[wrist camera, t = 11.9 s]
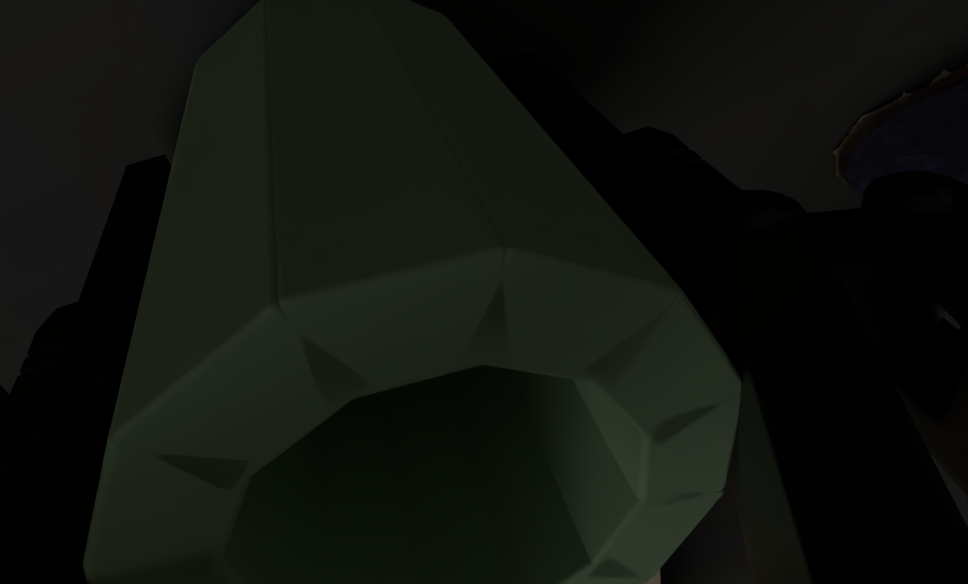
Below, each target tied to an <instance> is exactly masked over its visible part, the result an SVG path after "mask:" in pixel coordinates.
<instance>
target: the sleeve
mask: <svg viewBox="0 0 968 584" xmlns="http://www.w3.org/2000/svg"><path fill="white" fill-rule="evenodd" d="M740 392H741V375H740V373H739V372H738V371H737V369H736V368H735V366H734V365H733V363H732V362H731V360H730V359H729V357H728V356H727V354H726V353H725V352H724V350H723V349H722V347H721V346H720V344H719V343H718V341H717V340H716V338H715V337H714V335H713V334H712V333H711V331H710V330H709V328H708V327H707V325H706V324H705V322H704V321H703V319H702V318H701V316H700V315H699V314H698V312H697V311H696V309H695V308H694V306H693V305H692V303H691V302H690V300H689V299H688V297H687V296H686V295H685V293H684V292H683V290H682V289H681V288H680V287H679V286H678V285H677V283H676V282H675V281H674V280H673V279H672V278H671V277H670V275H669V274H668V273H667V272H666V271H665V270H664V268H663V267H662V266H661V265H660V264H659V263H658V261H657V260H656V259H655V258H654V257H653V256H652V255H651V253H650V252H649V251H648V250H647V249H646V248H645V246H644V245H643V244H642V243H641V242H640V241H639V239H638V238H637V237H636V236H635V235H634V234H633V233H632V231H631V230H630V229H629V228H628V227H627V226H626V224H625V223H624V222H623V221H622V220H621V219H620V217H619V216H618V215H617V214H616V213H615V212H614V211H613V209H612V208H611V207H610V206H609V205H608V204H607V202H606V201H605V200H604V199H603V198H602V197H601V195H600V194H599V193H598V192H597V191H596V190H595V189H594V187H593V186H592V185H591V184H590V183H589V182H588V180H587V179H586V178H585V177H584V176H583V175H582V173H581V172H580V171H579V170H578V169H577V168H576V167H575V165H574V164H573V163H572V162H571V161H570V160H569V158H568V157H567V156H566V155H565V154H564V153H563V151H562V150H561V149H560V148H559V147H558V146H557V145H556V143H555V142H554V141H553V140H552V139H551V138H550V136H549V135H548V134H547V133H546V132H545V131H544V129H543V128H542V127H541V126H540V125H539V124H538V123H537V121H536V120H535V119H534V118H533V117H532V116H531V114H530V113H529V112H528V111H527V110H526V109H525V107H524V106H523V105H522V104H521V103H520V102H519V100H518V99H517V98H516V97H515V96H514V95H513V94H512V92H511V91H510V90H509V89H508V88H507V87H506V85H505V84H504V83H503V82H502V81H501V80H500V78H499V77H498V76H497V75H496V74H495V73H494V72H493V70H492V69H491V68H490V67H489V66H488V65H487V63H486V62H485V61H484V60H483V59H482V58H481V56H480V55H479V54H478V53H477V52H476V51H475V50H474V48H473V47H472V46H471V45H470V44H469V43H468V41H467V40H466V39H465V38H464V37H463V36H462V34H461V33H460V32H459V31H458V30H457V29H456V28H455V26H454V25H453V24H452V23H451V22H450V21H449V19H448V18H447V17H446V16H444V15H443V14H441V13H439V12H436V11H434V10H431V9H429V8H426V7H424V6H422V5H419V4H417V3H414V2H412V1H409V0H260V1H259V2H258V3H257V4H256V5H255V6H254V7H253V8H252V9H250V10H249V11H248V12H247V13H246V14H245V15H244V16H243V17H242V18H241V19H240V20H239V21H238V22H236V23H235V24H234V25H233V26H232V27H231V28H230V29H229V30H228V31H227V32H226V33H225V34H224V35H223V36H221V37H220V38H219V39H218V40H217V41H216V42H215V43H214V44H213V45H212V46H211V47H210V48H209V49H207V50H206V51H205V52H204V53H203V54H202V55H201V56H200V57H199V58H198V62H197V63H196V65H195V69H194V73H193V77H192V81H191V86H190V90H189V94H188V98H187V103H186V107H185V111H184V115H183V120H182V124H181V128H180V133H179V137H178V141H177V145H176V150H175V154H174V158H173V162H172V167H171V171H170V175H169V179H168V184H167V188H166V192H165V196H164V201H163V205H162V209H161V214H160V218H159V222H158V226H157V231H156V235H155V239H154V243H153V248H152V252H151V256H150V260H149V265H148V269H147V273H146V278H145V282H144V286H143V290H142V295H141V299H140V303H139V307H138V312H137V316H136V320H135V324H134V329H133V333H132V337H131V342H130V346H129V350H128V354H127V359H126V363H125V367H124V371H123V376H122V380H121V384H120V388H119V393H118V397H117V401H116V406H115V410H114V414H113V418H112V423H111V427H110V431H109V435H108V440H107V445H106V450H105V455H104V460H103V465H102V470H101V475H100V480H99V485H98V490H97V495H96V500H95V505H94V510H93V515H92V520H91V525H90V530H89V535H88V540H87V545H86V550H85V555H84V560H83V568H84V572H85V578H86V581H87V583H88V584H644V583H646V582H647V581H648V580H649V579H650V578H652V577H653V576H654V575H655V574H656V573H657V572H658V570H659V569H660V568H661V567H662V566H663V565H664V563H665V562H666V561H667V560H668V559H669V557H670V556H671V555H672V554H673V553H674V552H675V550H676V549H677V548H678V547H679V546H680V544H681V543H682V542H683V541H684V540H685V538H686V537H687V536H688V535H689V534H690V533H691V531H692V530H693V529H694V528H695V527H696V525H697V524H698V523H699V522H700V521H701V520H702V518H703V517H704V516H705V515H706V514H707V512H708V511H709V510H710V509H711V508H712V506H713V505H714V504H715V503H716V502H717V501H718V499H719V498H720V497H721V496H722V495H723V493H724V491H725V490H724V488H725V486H726V484H727V479H728V474H729V469H730V464H731V459H732V455H733V450H734V445H735V440H736V433H737V423H738V414H739V405H740Z"/></svg>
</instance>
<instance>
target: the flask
mask: <svg viewBox="0 0 968 584" xmlns="http://www.w3.org/2000/svg"><path fill="white" fill-rule="evenodd" d="M832 153H833V154H835V155H836V164H835V166H836V175H837V176H838V177H839V178H840V179H842V181H843V182H844V183H845V184H847V185H849V186H851V187H852V188H854V189H855V190H857V191H858V192H860V193H861V194H863V195H864V192H865V188H866V187H867V186H868V185H869V184H870V183H871V182H872V181H873V180H874V179H877V178H879V177H882V176H884V175H887V174H890V173H898V172H906V171H918V172H921V171H928V172H933V173H936V174H940V175H944V176H949V177H952V178H954V179H956V180H958V181H961V182H963V183H965V184H967V185H968V63H967V64H966V67H963V68H960V70H957V71H955V72H952V73H950V72H948V71H946V70H945V69H943V71H942V72H941V74H940V75H939V76H937V77H936V78H935V79H934V80H933V81H932V82H931V83H930V84H929V86H927V87H925V88H923V89H922V90H920V91H918V92H913V93H908V94H906V93H905V92H904V93H903V95H902V97H900V98H898V100H895V101H894V102H893V103H891V104H887V105H884V106H883V107H882V108H880V109H878V110H876V111H874V112H872V113H869V114H866V115H864V116H862V117H861V118H860V119H859V120H858V121H857V125H856V124H855V125H854V126H853V127H852V129H851V130H850V132H849V136H846V137H845V138H844V140H843V141H842V143H841V145H840V146H839V147H838V148H837V149H835V150H834V151H833V152H832Z"/></svg>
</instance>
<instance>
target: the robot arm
mask: <svg viewBox="0 0 968 584" xmlns="http://www.w3.org/2000/svg"><path fill="white" fill-rule="evenodd" d="M497 62H498V68H499V74H500V80H501V81H502V82H503V83H504V84H505V85H506V87H507V88H508V89H509V90H510V91H511V92H512V94H513V95H514V96H515V97H516V98H517V99H518V100H519V102H520V103H521V104H522V105H523V106H524V107H525V109H526V110H527V111H528V112H529V113H530V114H531V116H532V117H533V118H534V119H535V120H536V121H537V123H538V124H539V125H540V126H541V127H542V128H543V129H544V131H545V132H546V133H547V134H548V135H549V136H550V138H551V139H552V140H553V141H554V142H555V143H556V145H557V146H558V147H559V148H560V149H561V150H562V151H563V153H564V154H565V155H566V156H567V157H568V158H569V160H570V161H571V162H572V163H573V164H574V165H575V167H576V168H577V169H578V170H579V171H580V172H581V173H582V175H583V176H584V177H585V178H586V179H587V180H588V182H589V183H590V184H591V185H592V186H593V187H594V189H595V190H596V191H597V192H598V193H599V194H600V195H601V197H602V198H603V199H604V200H605V201H606V202H607V204H608V205H609V206H610V207H611V208H612V209H613V211H614V212H615V213H616V214H617V215H618V216H619V217H620V219H621V220H622V221H623V222H624V223H625V224H626V226H627V227H628V228H629V229H630V230H631V231H632V233H633V234H634V235H635V236H636V237H637V238H638V239H639V241H640V242H641V243H642V244H643V245H644V246H645V248H646V249H647V250H648V251H649V252H650V253H651V255H652V256H653V257H654V258H655V259H656V260H657V261H658V263H659V264H660V265H661V266H662V267H663V268H664V270H665V271H666V272H667V273H668V274H669V275H670V277H671V278H672V279H673V280H674V281H675V282H676V283H677V285H678V286H679V287H680V288H681V289H682V290H683V292H684V293H685V295H686V296H687V297H688V299H689V300H690V302H691V303H692V305H693V306H694V308H695V309H696V311H697V312H698V314H699V315H700V316H701V318H702V319H703V321H704V322H705V324H706V325H707V327H708V328H709V330H710V331H711V333H712V334H713V335H714V337H715V338H716V340H717V341H718V343H719V344H720V346H721V347H722V349H723V350H724V352H725V353H726V354H727V356H728V357H729V359H730V360H731V362H732V363H733V365H734V366H735V368H736V369H737V371H738V372H739V373H740V375H741V392H740V405H739V414H738V423H737V433H736V440H735V445H734V450H733V455H732V459H731V464H730V469H729V478H730V482H731V486H732V491H733V495H734V499H735V504H736V508H737V512H738V517H739V521H740V526H741V530H742V534H743V539H744V543H745V547H746V552H747V556H748V560H749V565H750V569H751V573H752V578H753V582H754V584H968V527H967V525H966V523H965V521H964V519H963V517H962V516H961V514H960V512H959V510H958V508H957V506H956V504H955V502H954V500H953V498H952V496H951V494H950V492H949V490H948V488H947V486H946V484H945V482H944V480H943V478H942V477H941V475H940V473H939V471H938V469H937V467H936V465H935V463H934V461H933V459H932V457H931V455H930V453H931V454H932V455H933V457H934V458H935V459H936V460H937V461H938V463H939V464H940V465H941V466H942V467H943V468H944V470H945V471H946V472H947V473H948V474H949V475H950V477H951V478H952V479H953V480H954V481H955V483H956V484H957V485H958V486H959V487H960V488H961V490H962V491H963V492H964V493H965V494H966V495H967V497H968V185H967V184H965V183H963V182H961V181H958V180H956V179H954V178H952V177H949V176H944V175H940V174H936V173H933V172H928V171H921V172H918V171H906V172H898V173H890V174H887V175H884V176H882V177H879V178H877V179H874V180H873V181H872V182H871V183H870V184H869V185H868V186H867V187H866V188H865V192H864V196H863V201H862V206H861V208H855V209H846V210H836V211H826V212H814V213H806V211H805V210H804V209H803V208H802V207H801V205H800V204H799V203H798V202H797V201H796V200H794V199H792V198H790V197H787V196H785V195H783V194H781V193H776V192H771V191H766V190H740V189H739V188H738V187H737V186H736V185H734V184H733V183H732V182H731V181H729V180H728V179H727V178H726V177H724V176H723V175H722V174H721V173H720V172H718V171H717V170H716V169H715V168H713V167H712V166H711V165H710V164H708V163H707V162H706V161H705V160H703V161H702V160H701V157H700V156H699V155H697V154H696V153H695V152H694V151H692V150H689V148H688V147H687V146H686V145H685V144H684V143H683V142H681V141H680V140H679V139H678V138H676V137H675V136H674V135H673V134H670V133H667V132H663V131H660V130H657V129H654V128H651V127H646V128H642V129H639V130H636V131H632V132H629V133H626V134H622V133H621V132H620V131H619V130H618V129H617V128H616V127H615V126H614V125H612V124H611V123H610V122H609V121H608V120H607V119H606V118H605V117H604V116H603V115H602V114H601V113H599V112H598V111H597V110H596V109H595V108H594V107H593V106H592V105H591V104H590V103H589V102H587V101H586V100H585V99H584V98H583V97H582V96H581V95H580V94H579V93H578V92H577V91H576V90H574V89H573V88H572V87H571V86H570V85H569V84H568V83H567V82H566V81H565V80H564V79H563V78H561V77H560V76H559V75H558V74H557V73H556V72H555V71H554V70H553V69H552V68H551V67H549V66H548V65H547V64H546V63H545V62H544V61H543V60H542V59H541V58H540V57H539V56H538V55H536V54H535V53H534V52H533V51H532V50H528V51H525V52H521V53H518V54H514V55H511V56H507V57H504V58H501V59H497ZM170 171H171V165H170V163H169V161H168V159H167V157H166V156H165V155H162V156H158V157H155V158H151V159H148V160H144V161H141V162H137V163H134V164H130V165H127V166H126V169H125V172H124V175H123V177H122V180H121V183H120V186H119V189H118V191H117V194H116V197H115V200H114V203H113V205H112V208H111V211H110V214H109V217H108V219H107V222H106V225H105V228H104V231H103V233H102V236H101V239H100V242H99V245H98V247H97V250H96V253H95V256H94V259H93V262H92V264H91V267H90V270H89V273H88V276H87V278H86V281H85V284H84V287H83V290H82V292H81V295H80V298H79V301H78V302H76V303H73V304H70V305H66V306H63V307H60V308H57V309H56V310H55V311H54V312H53V313H52V314H51V315H50V317H49V318H48V319H47V320H46V321H45V322H44V323H43V324H42V326H41V327H40V328H39V329H38V330H37V331H36V333H35V336H34V338H33V341H32V343H31V345H30V348H29V350H28V353H27V354H28V357H27V358H25V360H24V362H23V365H22V367H21V370H20V373H21V375H20V376H18V377H17V379H16V382H15V384H14V386H13V389H12V391H11V394H10V395H9V394H8V393H7V392H6V391H5V390H4V389H3V388H2V387H1V385H0V584H88V583H87V581H86V578H85V572H84V568H83V560H84V555H85V550H86V545H87V540H88V535H89V530H90V525H91V520H92V515H93V510H94V505H95V500H96V495H97V490H98V485H99V480H100V475H101V470H102V465H103V460H104V455H105V450H106V445H107V440H108V435H109V431H110V427H111V423H112V418H113V414H114V410H115V406H116V401H117V397H118V393H119V388H120V384H121V380H122V376H123V371H124V367H125V363H126V359H127V354H128V350H129V346H130V342H131V337H132V333H133V329H134V324H135V320H136V316H137V312H138V307H139V303H140V299H141V295H142V290H143V286H144V282H145V278H146V273H147V269H148V265H149V260H150V256H151V252H152V248H153V243H154V239H155V235H156V231H157V226H158V222H159V218H160V214H161V209H162V205H163V201H164V196H165V192H166V188H167V184H168V179H169V175H170ZM944 310H945V311H946V312H947V313H948V314H949V315H951V316H952V317H953V318H954V319H955V320H956V322H957V323H958V324H959V325H960V326H961V327H960V329H959V330H958V329H956V328H955V327H953V326H952V325H951V324H950V323H949V322H948V321H946V320H945V319H944V318H943V317H942V316H943V313H944ZM929 452H930V453H929Z"/></svg>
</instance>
